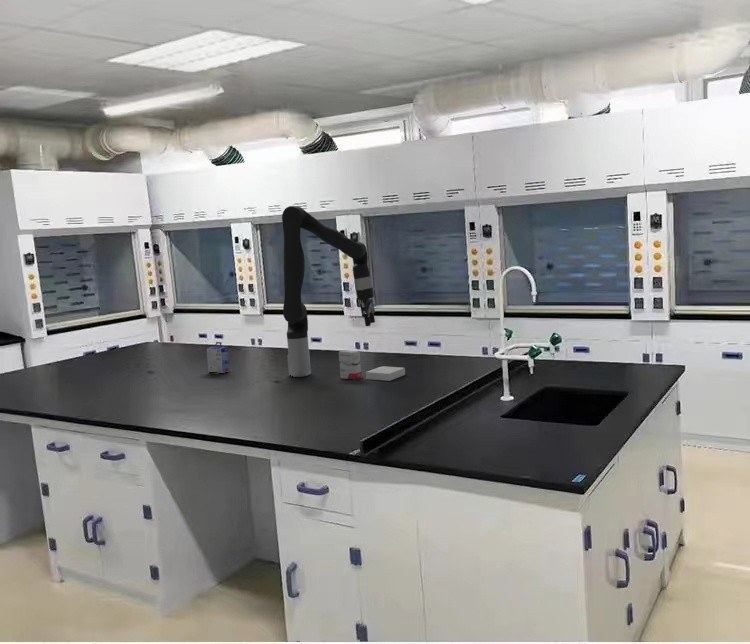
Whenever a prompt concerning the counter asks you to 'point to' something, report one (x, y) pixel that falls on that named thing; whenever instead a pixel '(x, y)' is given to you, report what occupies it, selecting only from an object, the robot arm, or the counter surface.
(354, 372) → the ink box
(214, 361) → the ink cartridge box
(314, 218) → the robot arm
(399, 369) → the stand
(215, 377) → the counter surface
